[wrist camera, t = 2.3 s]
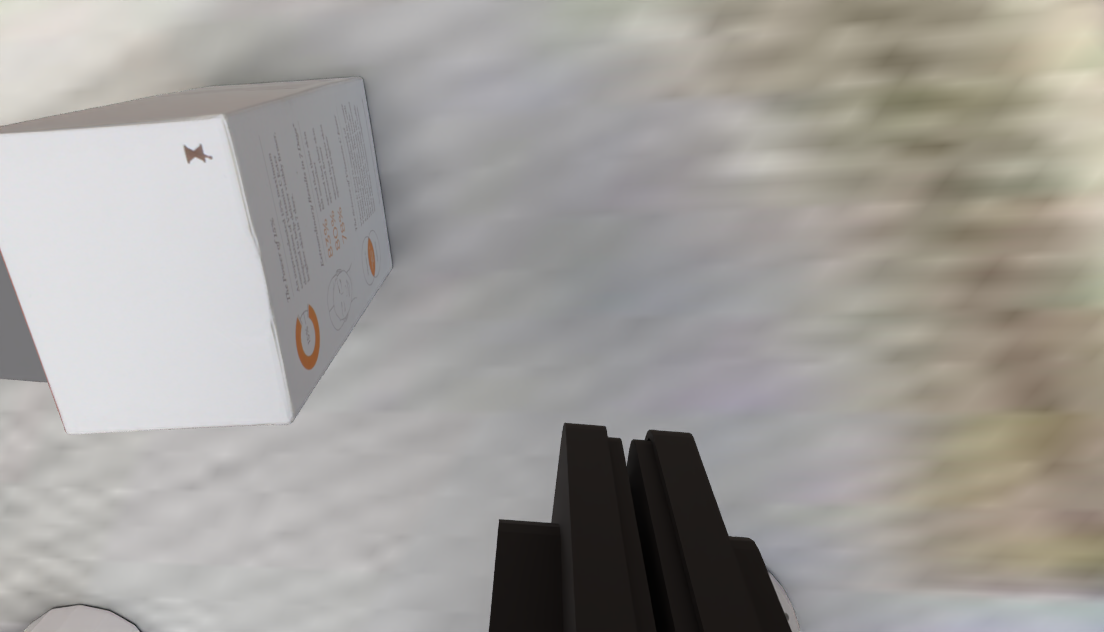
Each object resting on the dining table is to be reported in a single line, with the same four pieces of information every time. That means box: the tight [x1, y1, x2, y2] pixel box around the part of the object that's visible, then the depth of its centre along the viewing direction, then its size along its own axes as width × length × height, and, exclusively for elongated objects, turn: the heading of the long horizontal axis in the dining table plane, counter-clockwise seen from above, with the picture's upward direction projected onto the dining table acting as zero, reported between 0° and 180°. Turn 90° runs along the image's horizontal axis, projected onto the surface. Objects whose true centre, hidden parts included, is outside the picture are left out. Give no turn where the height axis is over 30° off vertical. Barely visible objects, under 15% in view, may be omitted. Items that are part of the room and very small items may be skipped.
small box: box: [0, 77, 393, 434], centre depth 24 cm, size 8×6×13 cm
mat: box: [0, 253, 48, 382], centre depth 31 cm, size 11×10×1 cm
